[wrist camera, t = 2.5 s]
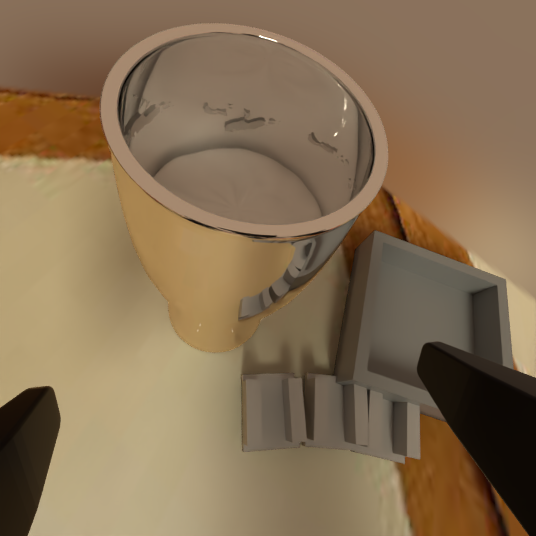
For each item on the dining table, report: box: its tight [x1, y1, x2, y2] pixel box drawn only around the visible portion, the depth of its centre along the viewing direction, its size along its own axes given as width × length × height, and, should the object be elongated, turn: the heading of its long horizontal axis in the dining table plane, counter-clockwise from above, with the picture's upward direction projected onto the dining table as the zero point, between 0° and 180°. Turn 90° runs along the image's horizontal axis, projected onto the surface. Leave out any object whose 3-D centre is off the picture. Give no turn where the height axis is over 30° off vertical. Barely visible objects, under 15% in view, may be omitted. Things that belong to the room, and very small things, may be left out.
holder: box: [333, 230, 513, 422], centre depth 21 cm, size 10×10×3 cm
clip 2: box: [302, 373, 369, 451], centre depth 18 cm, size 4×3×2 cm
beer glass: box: [100, 23, 388, 353], centre depth 14 cm, size 7×7×15 cm
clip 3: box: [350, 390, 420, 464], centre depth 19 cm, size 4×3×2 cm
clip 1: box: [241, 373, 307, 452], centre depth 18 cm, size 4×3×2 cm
